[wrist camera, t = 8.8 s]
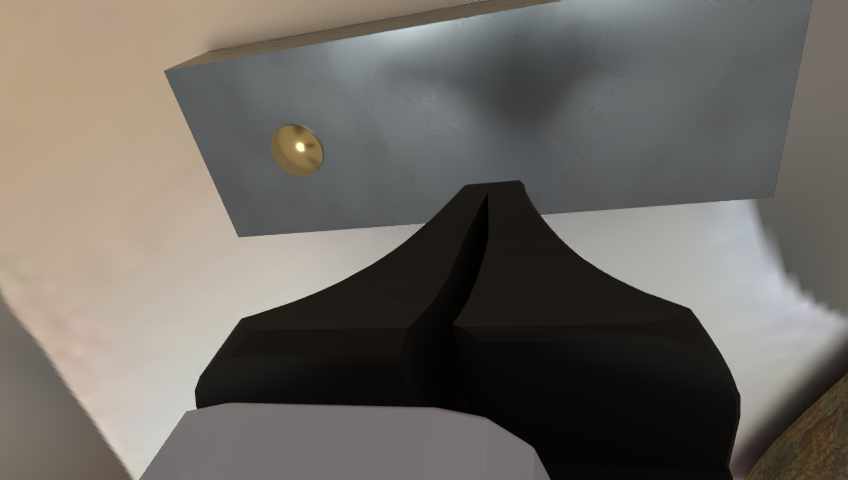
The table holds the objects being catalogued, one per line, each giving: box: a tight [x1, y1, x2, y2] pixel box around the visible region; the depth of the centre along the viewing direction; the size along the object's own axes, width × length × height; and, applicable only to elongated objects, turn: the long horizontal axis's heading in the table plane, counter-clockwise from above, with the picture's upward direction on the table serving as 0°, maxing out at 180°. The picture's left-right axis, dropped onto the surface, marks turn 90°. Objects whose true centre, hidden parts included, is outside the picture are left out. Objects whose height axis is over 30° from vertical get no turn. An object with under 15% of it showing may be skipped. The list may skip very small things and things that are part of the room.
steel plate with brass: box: [164, 0, 813, 237], centre depth 18 cm, size 7×20×3 cm, turn 101°
